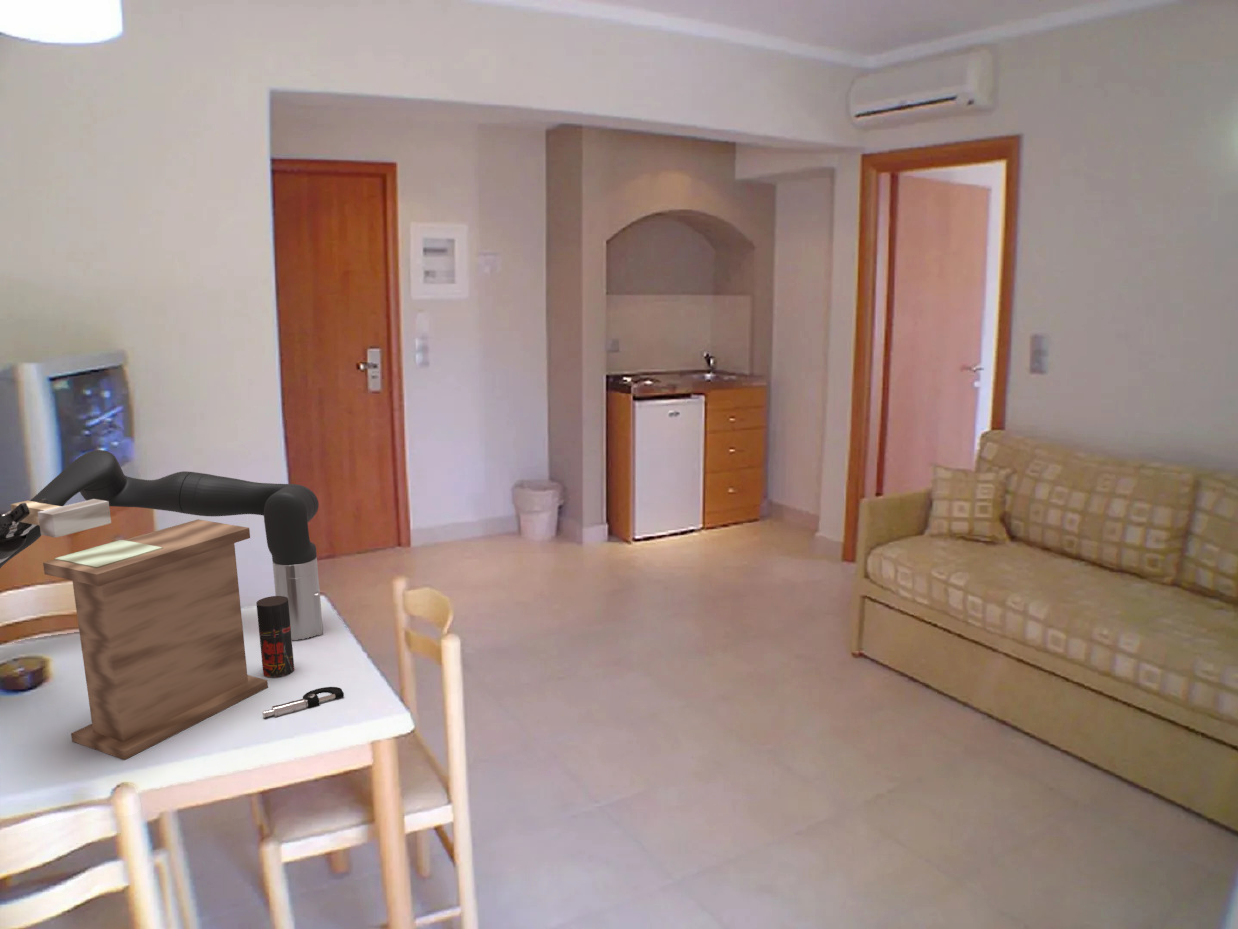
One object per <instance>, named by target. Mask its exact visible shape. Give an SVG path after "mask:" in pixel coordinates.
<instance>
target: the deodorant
mask: <svg viewBox="0 0 1238 929" xmlns="http://www.w3.org/2000/svg"><path fill="white" fill-rule="evenodd" d="M256 613H257V614H256V616H257V623H258V624H257V625H258V633H259V634H258V635H259V643H260V644H259V645H260V653H261V654H260V655H261V664H262V665H261V666H262V675H263V676H264V677H266V678H268V679H275V678H277V679H278V678H283V677H286V676H288V675H289V676H290V675H291V674H292V673H293V672H294V671H295V663H294V662H295V660H294V651H293V649H294V648H293V640H292V637H291V626H290V614H289V603H288V598H287V597H284V596H276V595H272V596H267V597H263V598H261V599H259V600H257V601H256Z"/></svg>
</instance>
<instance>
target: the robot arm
mask: <svg viewBox="0 0 1238 929" xmlns="http://www.w3.org/2000/svg"><path fill="white" fill-rule="evenodd" d="M79 493H80V495H81V497H82V498H83V499H84V501H87V500H92V499H98V500H104V501H109V507H119V508H141V509H142V508H143V509H149V510H157V511H167V512H174V513H179V514H186V515H191V516H197V517H198V516H200V517H229V516H240V515H255V516H256V515H258V516H263V522H264V531H265V535H266V536H265V537H266V544H267V547H268V548H267V549H268V551H269V553H270V555H271V559H272V571H273V584H274V592H275V593H274V594H275V595H274V596H284V597H287V598H288V603H289V614H290V626H291V637H292V641H298V639H302V640H304V639H303V638H307V639H310V638H309V637H311V638H313V636H314V637H316V636H315V635H317V636H320V635H319V634H322V633H323V627H322V625H323V615H322V613H323V612H322V601H321V590H320V589H321V588H320V583H319V582H320V581H319V570H318V569H319V568H318V557H317V556H318V555H317V547H316V544H315V543H314V542H312V541H311V540H310V534H309V533H310V532H309V525H308V523H309V522H310V521H311V520H312V519H313V518H314V517H315V516H316V514H317V512H318V511H319V506H320V505H319V500H318V497H317V496H316V494H315V493H314V492H313V491H312V490H311V489H310V488H308V487H306V486H305V485H302V484H301V485H300V484H295V483H271V482H269V483H268V482H257V481H256V482H255V481H249V480H245V479H238V478H232V477H227V476H222V475H221V476H219V475H215V474H211V473H210V474H209V473H202V472H195V471H178V472H174V473H171V474H169V475H168V474H167V475H166V476H162V477H161V478H157V479H142V478H136V477H130V476H128V475H125V474H124V471H123V470H122V467H121V465H120V463H119V460H118V459H117V458H116V456H115V454H113V453H111V452H110V451H108V450H103V449H95V450H91V451H88V452H86V453H84V454H82V455H80V456H78V457H77V458H76V459H75V460H73V461H72V462H71V463H70V464H69V465H68V466H66V467H65V468H64V469H63V470H62V471H61V472H60V473H59V474H58V475H57V476H55V477H54V478H53V479H52V480H51V481H50V482H48V483H47V485H45V486H44V487H43V488H42V489H41V490H40V491H39V492H38V493H37V494H36V495H35V496H34V497H33V498H31V499H30V500H29V501H33V502H38V503H44V504H50V505H56V506H66V503H68V502H69V500H71V499H72V498H73V497H74V496H76V495H77V494H79ZM29 513H30V512H29V509H28V506H27V504H26V503H21V504H19V505H18V506H17V507H16V508H15V509H14V510H13V511H11V510H8V511H7V512H5V513H3V514H0V569H1V568H2V567H3V566H4V565H6V564H7V563H8V562H9V561H10V560H11V559H13V558H14V557H16V556H17V555H18V554H20V553H21V552H23V551H24V550H26V548H28V547H29V546H31V545H33V544H34V543H36V541H37V540H39V539H40V538H41V537H42V535H41V531H40V525H34V524H29V523H24V522H19V521H22V520H23V519H24V518H25V517H26V516H27V515H29ZM322 635H323V634H322ZM296 639H297V640H296Z"/></svg>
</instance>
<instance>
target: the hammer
mask: <svg viewBox="0 0 1238 929" xmlns="http://www.w3.org/2000/svg"><path fill="white" fill-rule="evenodd" d="M21 503H26V504H27V506H28V509H29V512H30V513H29V515H27V516H26V517H25V518H24V519H23V520H22V521H19V522H24V523H29V524H34V525H40V531H41V536H46V537H51V538H60V537H63V536H68V535H72V534H75V533H79V532H82V531H86V530H89V529H90V530H91V529H94V528H98V527H102V526H106V525H109V524H112V518H111V511H110V509H111V508H110V506H109V501H104V500H98V499H92V500H87V501H86V500H84V501H83V500H82V501H79V502H75V503H70V504H65V505H64V506H56V505H50V504H44V503H38V502H33V501H30V500H24V501H19V502H15V503H10V509H11V510H10V511H13V510H14V509H15V508H16V507H17V506H18V505H19V504H21Z"/></svg>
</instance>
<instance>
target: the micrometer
mask: <svg viewBox="0 0 1238 929" xmlns="http://www.w3.org/2000/svg"><path fill="white" fill-rule="evenodd" d="M319 693H320V694H324V693H326V694H327V693H328V694H329V695H325V696H322V697H319V696H318V695H319ZM331 693H332V694H331ZM344 695H345V694H344V691H343V689H342V688H341V687H338V686H324V687H320V688H319V687H318V688H315V689H313V690H310V691H308V692H306V693H305V694H303V696H302V698H300V699H297V700H291V701H288V702H285V703H282V704H278V705H277V704H276V705H273V706H271V709H268V710H263V711H262V718H263V719H267V718H269V717H274V718H278V717H281V716H284V715H285V716H286V715H288V714H293V713H296V712H299V711H302V710H306V709H312V708H314V707H319V706H320V703H321V702H325V701H326V702H327V701H329V700H332V699H335V700H336V699H339V698H340V699H341V698H343V697H345V696H344Z"/></svg>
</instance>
